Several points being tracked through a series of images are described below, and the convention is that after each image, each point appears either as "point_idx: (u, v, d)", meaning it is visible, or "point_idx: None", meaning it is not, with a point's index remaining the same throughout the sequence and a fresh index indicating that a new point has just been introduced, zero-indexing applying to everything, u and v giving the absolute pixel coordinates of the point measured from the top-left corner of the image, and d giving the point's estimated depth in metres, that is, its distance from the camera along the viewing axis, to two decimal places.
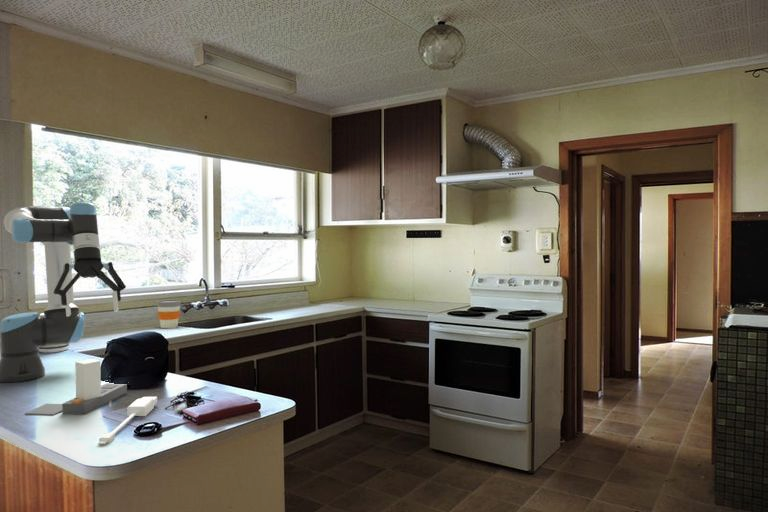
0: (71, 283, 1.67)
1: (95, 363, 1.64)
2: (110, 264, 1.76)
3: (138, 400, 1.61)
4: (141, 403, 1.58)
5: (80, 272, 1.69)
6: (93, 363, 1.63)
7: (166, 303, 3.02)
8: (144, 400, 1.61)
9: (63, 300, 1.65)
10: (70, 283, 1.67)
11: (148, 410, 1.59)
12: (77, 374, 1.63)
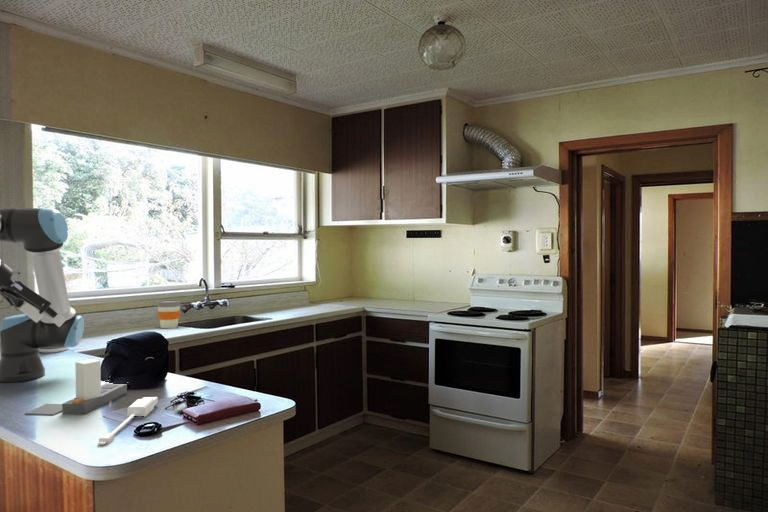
0: (11, 301, 1.52)
1: (95, 363, 1.64)
2: (13, 290, 1.42)
3: (138, 400, 1.61)
4: (141, 404, 1.58)
5: (5, 295, 1.48)
6: (93, 363, 1.63)
7: (166, 303, 3.02)
8: (144, 400, 1.61)
9: None
10: (11, 301, 1.52)
11: (148, 410, 1.59)
12: (77, 374, 1.63)
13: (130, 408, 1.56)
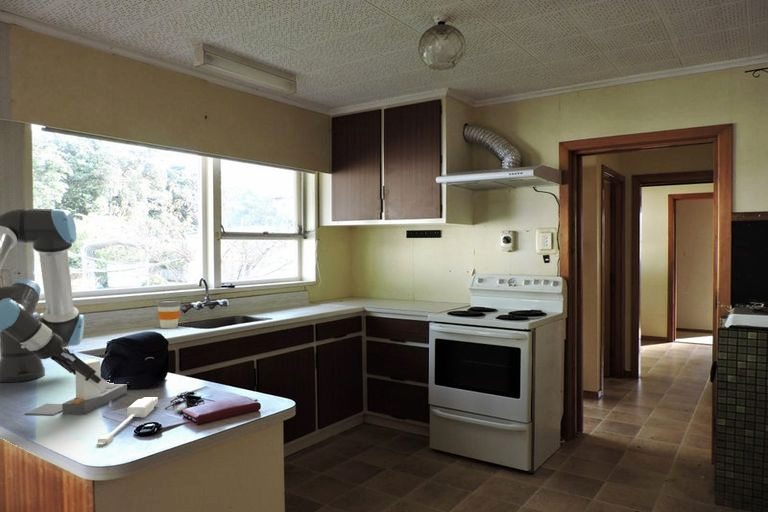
0: (67, 368, 1.62)
1: (95, 363, 1.64)
2: (67, 361, 1.54)
3: (138, 401, 1.60)
4: (141, 404, 1.58)
5: (57, 362, 1.59)
6: (93, 363, 1.63)
7: (166, 303, 3.02)
8: (144, 401, 1.60)
9: None
10: (67, 368, 1.63)
11: (148, 411, 1.58)
12: (77, 374, 1.63)
13: (130, 408, 1.55)
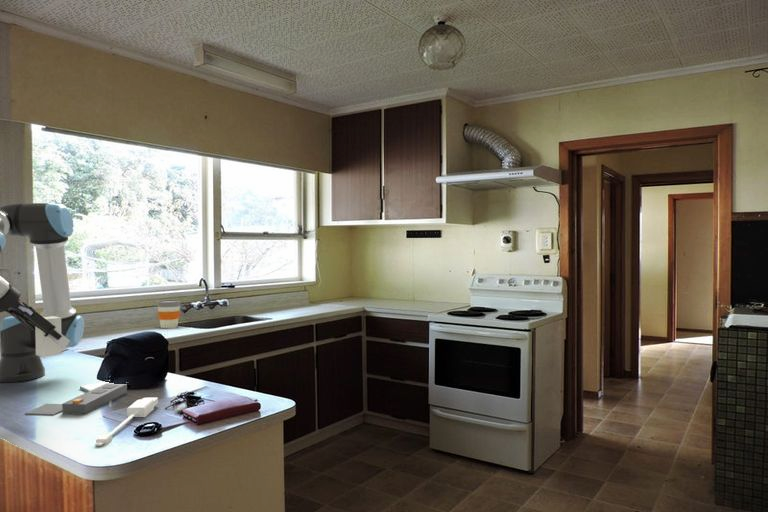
0: (27, 324, 1.59)
1: (55, 319, 1.60)
2: (24, 315, 1.50)
3: (138, 401, 1.60)
4: (141, 404, 1.57)
5: (15, 317, 1.55)
6: (53, 319, 1.60)
7: (166, 303, 3.02)
8: (144, 401, 1.60)
9: None
10: (27, 324, 1.59)
11: (148, 411, 1.58)
12: (36, 331, 1.60)
13: (129, 409, 1.55)
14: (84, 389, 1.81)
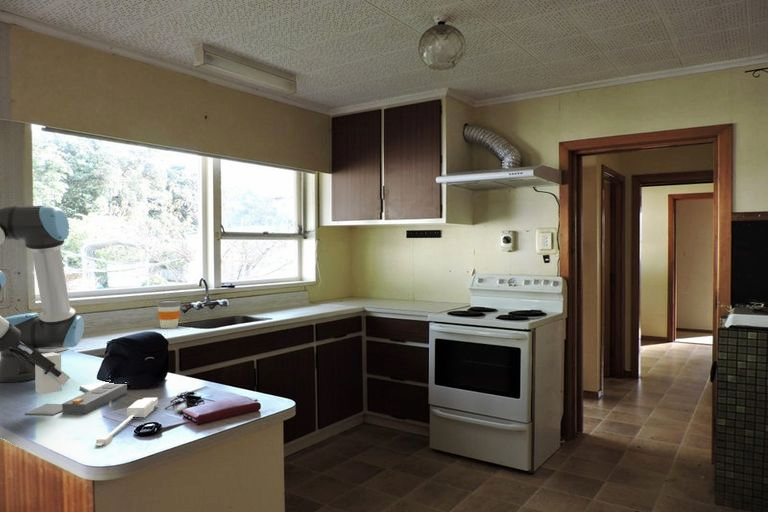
0: (27, 361, 1.59)
1: (55, 356, 1.60)
2: (24, 354, 1.50)
3: (138, 401, 1.60)
4: (141, 404, 1.57)
5: (15, 355, 1.55)
6: (53, 356, 1.59)
7: (166, 303, 3.02)
8: (144, 401, 1.60)
9: None
10: (26, 361, 1.59)
11: (148, 411, 1.58)
12: (36, 368, 1.59)
13: (129, 409, 1.55)
14: (84, 389, 1.81)
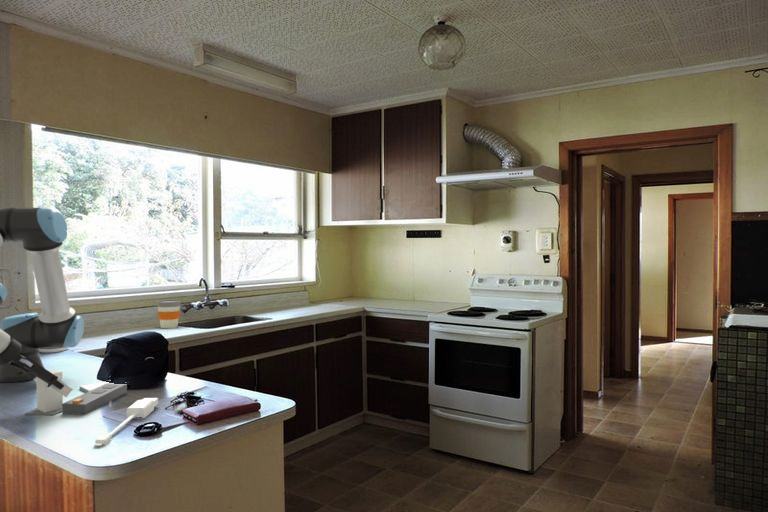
0: (24, 372, 1.60)
1: (56, 374, 1.61)
2: (24, 366, 1.50)
3: (138, 401, 1.60)
4: (141, 405, 1.57)
5: (15, 368, 1.56)
6: (54, 374, 1.60)
7: (166, 303, 3.02)
8: (144, 401, 1.60)
9: None
10: (24, 372, 1.60)
11: (148, 412, 1.57)
12: (38, 386, 1.60)
13: (129, 409, 1.55)
14: (83, 389, 1.81)
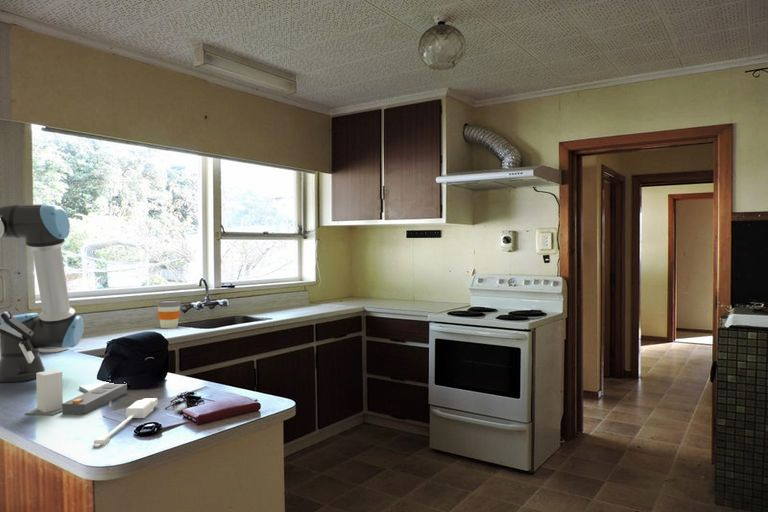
0: None
1: (56, 374, 1.61)
2: (3, 316, 1.47)
3: (137, 402, 1.59)
4: (140, 405, 1.57)
5: None
6: (54, 374, 1.60)
7: (166, 303, 3.02)
8: (143, 402, 1.59)
9: None
10: None
11: (147, 412, 1.57)
12: (38, 386, 1.60)
13: (128, 409, 1.54)
14: (83, 389, 1.81)
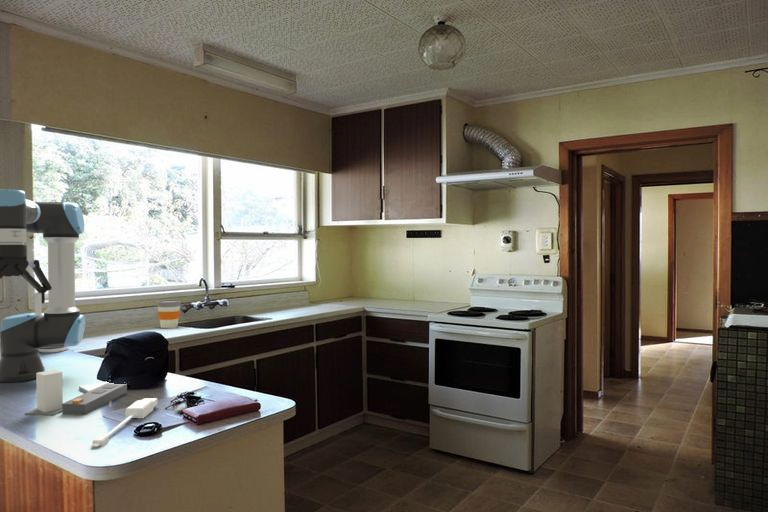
0: None
1: (56, 374, 1.61)
2: (37, 262, 1.59)
3: (137, 402, 1.59)
4: (140, 405, 1.57)
5: (2, 272, 1.51)
6: (54, 374, 1.60)
7: (166, 303, 3.02)
8: (143, 402, 1.59)
9: None
10: None
11: (147, 412, 1.57)
12: (38, 386, 1.60)
13: (128, 409, 1.54)
14: (83, 389, 1.81)
